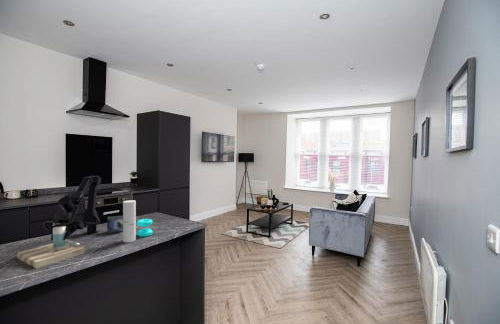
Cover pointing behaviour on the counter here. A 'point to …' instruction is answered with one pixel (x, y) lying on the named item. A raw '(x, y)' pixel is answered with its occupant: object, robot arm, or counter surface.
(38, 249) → the light wood flat tray
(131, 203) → the cylindrical container
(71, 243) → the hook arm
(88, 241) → the counter surface
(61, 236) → the white teal rounded cylinder
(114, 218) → the small box
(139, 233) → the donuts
